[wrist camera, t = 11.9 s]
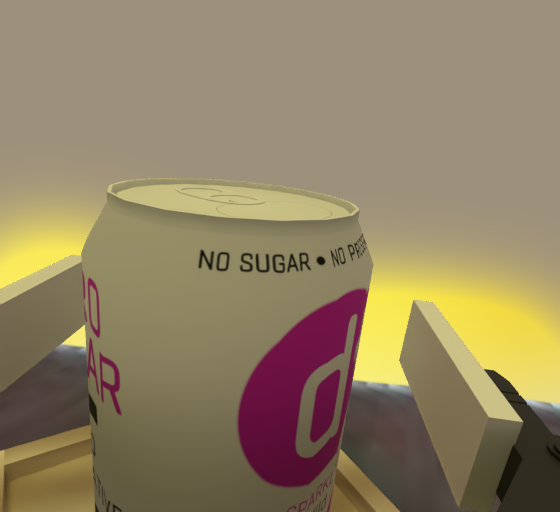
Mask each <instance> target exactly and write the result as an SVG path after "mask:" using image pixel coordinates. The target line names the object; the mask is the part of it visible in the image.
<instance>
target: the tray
mask: <svg viewBox="0 0 560 512" xmlns="http://www.w3.org/2000/svg"><path fill="white" fill-rule="evenodd" d="M0 512H95V499H94V480H93V461H92V443H91V425H88V426H84V427H81V428H78V429H74V430H71V431H67V432H64V433H60V434H57V435H54V436H50V437H47V438H43V439H40V440H37V441H33V442H30V443H26V444H23V445H19V446H16V447H13V448H9V449H6V450H2V451H0ZM329 512H400V511H399V510H398V509H397V508H396V507H395V506H394V505H393V504H392V503H391V502H390V501H389V500H388V499H387V498H386V496H385V495H384V494H383V493H382V492H381V491H380V490H379V489H378V488H377V487H376V486H375V485H374V484H373V483H372V482H371V481H370V480H369V479H368V478H367V477H366V475H365V474H364V473H363V472H362V471H361V470H360V469H359V468H358V467H357V466H356V465H355V464H354V463H353V462H352V461H351V460H350V459H349V458H348V457H347V455H346V454H345V453H344V452H343V451H342V450H341V449H340V454H339V459H338V465H337V470H336V476H335V482H334V487H333V493H332V498H331V504H330V510H329Z"/></svg>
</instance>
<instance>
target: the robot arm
mask: <svg viewBox="0 0 560 512" xmlns="http://www.w3.org/2000/svg"><path fill="white" fill-rule="evenodd" d="M83 325H85V313H84V294H83V275H82V257H81V256H77V255H71V256H69V257H66V258H64V259H62V260H60V261H58V262H56V263H54V264H52V265H50V266H48V267H45V268H43V269H41V270H39V271H37V272H35V273H33V274H31V275H29V276H27V277H25V278H22V279H20V280H18V281H16V282H14V283H12V284H10V285H8V286H6V287H4V288H2V289H0V393H1V392H2V391H3V390H5V389H6V388H7V387H8V386H10V385H11V384H12V383H13V382H15V381H16V380H17V379H18V378H19V377H21V376H22V375H23V374H24V373H26V372H27V371H28V370H29V369H31V368H32V367H33V366H34V365H35V364H37V363H38V362H39V361H40V360H42V359H43V358H44V357H45V356H47V355H48V354H49V353H50V352H51V351H53V350H54V349H55V348H56V347H58V346H59V345H60V344H61V343H63V342H64V341H65V340H66V339H67V338H69V337H70V336H71V335H72V334H74V333H75V332H76V331H77V330H79V329H80V328H81V327H82V326H83ZM399 361H400V363H401V366H402V368H403V371H404V373H405V376H406V378H407V381H408V383H409V386H410V388H411V391H412V393H413V396H414V398H415V401H416V403H417V406H418V408H419V411H420V413H421V416H422V418H423V421H424V423H425V426H426V428H427V431H428V433H429V436H430V438H431V441H432V443H433V446H434V448H435V451H436V453H437V456H438V458H439V461H440V463H441V466H442V468H443V471H444V473H445V476H446V478H447V481H448V483H449V486H450V488H451V491H452V493H453V496H454V498H455V501H456V503H457V506H458V508H459V509H466V510H472V511H479V512H491V509H492V506H493V503H494V501H495V498H496V495H498V497H499V499H500V501H501V505H500V507H499V509H498V511H497V512H560V436H557V435H553V434H552V433H551V432H550V431H549V429H548V428H547V427H546V426H545V425H544V423H543V422H542V421H541V420H540V418H539V417H538V416H537V415H536V414H535V412H534V411H533V410H532V409H531V408H530V406H529V405H527V403H526V401H525V400H524V399H523V398H522V397H521V396H519V393H518V392H517V391H516V389H515V388H514V387H513V386H512V385H511V383H510V382H509V381H508V380H506V379H505V378H504V377H502V376H501V375H500V374H498V373H497V372H495V371H493V370H486V369H483V368H482V367H481V365H480V364H479V362H478V361H477V360H476V359H475V357H474V356H473V355H472V353H471V352H470V351H469V349H468V348H467V347H466V345H465V344H464V343H463V341H462V340H461V339H460V337H459V336H458V335H457V333H456V332H455V331H454V330H453V328H452V327H451V325H450V324H449V323H448V321H447V320H446V319H445V317H444V316H443V315H442V313H441V312H440V311H439V309H438V308H437V307H436V305H435V304H434V303H433V302H427V301H419V300H414V301H413V304H412V309H411V313H410V317H409V321H408V325H407V330H406V334H405V338H404V342H403V347H402V351H401V355H400V360H399Z"/></svg>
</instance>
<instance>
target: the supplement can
mask: <svg viewBox="0 0 560 512" xmlns="http://www.w3.org/2000/svg"><path fill="white" fill-rule="evenodd" d="M359 211H360V210H359V208H358V207H356V206H355V205H354V204H353V203H351V202H348V201H345V200H342V199H340V198H337V197H334V196H330V195H325V194H321V193H316V192H312V191H307V190H301V189H295V188H289V187H283V186H276V185H267V184H259V183H250V182H240V181H226V180H215V179H190V178H189V179H188V178H151V179H139V180H126V181H123V182H119V183H115V184H111V185H109V188H108V190H107V203H106V204H105V206H104V208H103V210H102V212H101V213H100V216H99V217H98V219H97V221H96V223H95V225H94V226H93V228H92V230H91V232H90V234H89V236H88V237H87V240H86V242H85V245H84V248H83V250H82V253H81V257H82V275H83V294H84V313H85V331H86V350H87V368H88V387H89V406H90V424H91V443H92V461H93V480H94V499H95V512H329V510H330V504H331V498H332V493H333V487H334V482H335V476H336V470H337V465H338V459H339V454H340V448H341V442H342V437H343V431H344V425H345V420H346V414H347V409H348V403H349V397H350V392H351V386H352V381H353V375H354V369H355V364H356V358H357V352H358V347H359V341H360V335H361V330H362V325H363V319H364V312H365V308H366V302H367V297H368V291H369V285H370V279H371V274H372V268H373V262H372V259H371V256H370V253H369V251H368V248H367V245H366V242H365V239H364V236H363V233H362V230H361V227H360V225H359V222H358V217H359Z"/></svg>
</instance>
